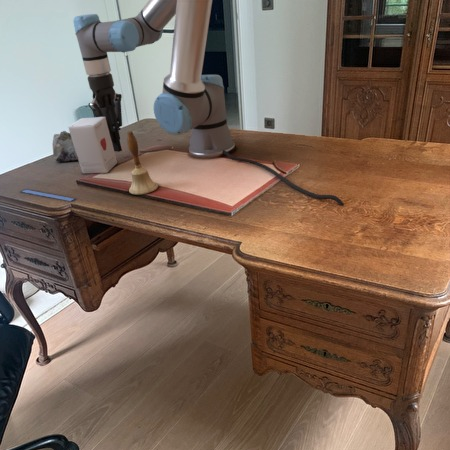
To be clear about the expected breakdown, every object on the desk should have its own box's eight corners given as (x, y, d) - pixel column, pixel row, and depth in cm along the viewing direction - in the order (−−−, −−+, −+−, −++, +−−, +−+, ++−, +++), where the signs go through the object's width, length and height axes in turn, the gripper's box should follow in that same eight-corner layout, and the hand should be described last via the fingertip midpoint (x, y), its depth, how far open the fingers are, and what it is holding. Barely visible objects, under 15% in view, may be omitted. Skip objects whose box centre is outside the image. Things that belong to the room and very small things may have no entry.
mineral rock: (98, 158, 154) (90, 128, 148) (71, 168, 148) (62, 137, 142) (78, 153, 161) (70, 124, 156) (52, 162, 155) (42, 133, 150)
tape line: (74, 199, 125) (74, 198, 125) (70, 201, 124) (70, 200, 124) (25, 190, 135) (25, 189, 135) (21, 192, 134) (21, 191, 134)
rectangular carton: (107, 173, 140) (93, 125, 130) (82, 174, 142) (66, 126, 132) (118, 162, 147) (105, 115, 137) (94, 163, 149) (80, 117, 139)
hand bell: (130, 197, 121) (116, 138, 112) (127, 186, 128) (113, 130, 119) (160, 191, 123) (148, 132, 113) (155, 181, 129) (144, 125, 120)
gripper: (105, 69, 141) (122, 143, 155) (75, 78, 133) (96, 156, 147) (122, 69, 138) (138, 145, 152) (92, 79, 129) (112, 158, 143)
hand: (117, 150), depth 149 cm, fingers closed
